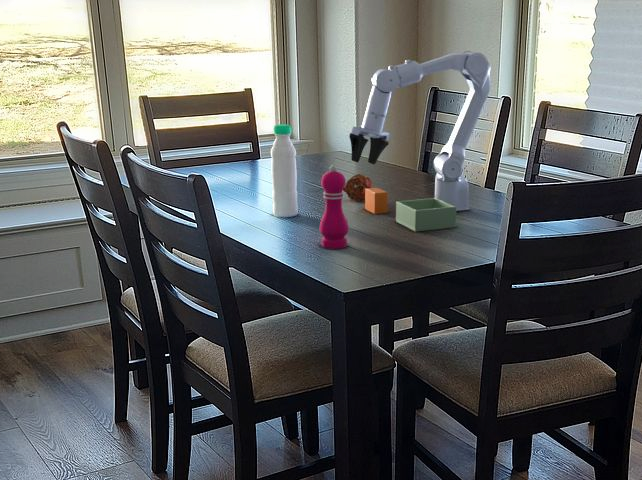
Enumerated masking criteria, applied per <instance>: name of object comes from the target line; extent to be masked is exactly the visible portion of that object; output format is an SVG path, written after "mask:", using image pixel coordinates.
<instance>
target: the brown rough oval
mask: <svg viewBox="0 0 642 480" xmlns="http://www.w3.org/2000/svg"><path fill="white" fill-rule="evenodd" d="M372 184H373V183H372V180H371V178H370V177H367V176H366V175H365V174H361V173H357V174H355V175H352V176H351V177H350V178H349V179H348V180H347V181H346V185H345V188H344V189H343V190H342V191H343V192H344V193H345V194H346V195H347V197H348V198H349V199H350V200H351V201H353V200H355V201H357V202H362V201H364V200H365V189H367V188H373V185H372Z"/></svg>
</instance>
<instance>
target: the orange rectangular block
mask: <svg viewBox="0 0 642 480" xmlns="http://www.w3.org/2000/svg"><path fill="white" fill-rule="evenodd" d="M364 204H365V205H364V210H366V211H368V212H370V213H372V214H374V215H379V214H387V213H388V191H386V190H384V189H381V188H379V187H372V188H367V189H365V198H364Z"/></svg>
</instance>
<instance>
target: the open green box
mask: <svg viewBox="0 0 642 480" xmlns="http://www.w3.org/2000/svg"><path fill="white" fill-rule="evenodd" d="M395 222H396V223H397V224H399V225H401V226H404V227H406V228H407V229H409V230H412V231H413V232H425V231H433V230H434V231H435V230H443V229H452V228H456V227H457V225H456V224H457V211H456V207H455V206H453V205H451V204H449V203H446V202H444V201H442V200H439V199H437V198H435V197H429V198H419V199H407V200H398V201H397V200H396V202H395Z"/></svg>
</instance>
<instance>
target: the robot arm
mask: <svg viewBox="0 0 642 480" xmlns="http://www.w3.org/2000/svg"><path fill="white" fill-rule="evenodd" d="M448 70H454V71H457V72H459V73H460V74H461V75H462V77H464V78H465V80H466V83H467V85H468V88H469V92H468V94H467V96H466V99H465V102H464V104H463V106H462V109H461V111H460V112H459V113H460V114H459V115H458V118H457V121H456V123H455V125H454V127H453V129H452V132H451V135H450V137H449V140H448V141H447V143H446V144H445V145H444V146H443V147H442V149H441V151H440V152H439V154H438V155H436V157H435V158H434V160H433V169H434V170H435V172H436V175H435V176H434V198H437V199H439V200H442V201H444V202H446V203H449V204H451V205H453V206H455V207H456V212H463V211H469V210H470V207H469V193H470V192H469V189H470V187H469V182H468V180H467V179H466V178H465V177H461V176H462V174H463V172H464V161H465V159H466V149H467V146H468V143H469V141H470V139H471V136H472V134H473V132H474V130H475V127H476V124H477V122H478V120H479V117H480V116H481V113H482V110H483V108H484V106H485V104H486V102H487V99H488V97H489V94H490V92H491V76H490V72H491V65H490V62H489V61H488V58H487V57H486V55H485V54H483V53H481V52H474V51H471V50H465V51H462V52H454V53H449V54H447V55H443V56H440V57H437V58H435V59H431V60H428V61H425V62H422V63H419V62H417V61H416V60H411V59H407V60H404V63H402V64H398V65H395V66H394V65H393V64H391V65H389V66H388V69H385V68H380V69H378V70H376V72H374V74H373V75H372V76H371V84H372V87H371V91H370V94H369V97H368V100H367V105H366V109H365V113H364V116H363V120H362V125H358V126H354V125H353V126H352V128H351V132H350V133H349V135H348V137H349V141H350V147H351V162H354V163H359V162H360V159H361V157H362V154H363V152H364V149H365V147H366V145H367V144H368V142H369V141H370V146H369V153H368V160H367V161H368V163H369V164H372V165H376V163H377V161H378V159H379V157H380V156H381V154H382V152H383V151H384V150H385V149H386V148H387V147H388V146H389V143H390V141H388V140H389V137H390V132H387V131H383V129H384V125H385V121H386V117H387V113H388V109H389V105H390V101H391V97H392V94H393V93H392V92H393V91H395V90H396V88H397V89H399V88H404V87H406V86H411V85H413V84H417V83H419V82H421V80H422V78H423V77H424V76H428V75H432V74H436V73H439V72H444V71H448ZM365 137H369V139H367V138H365Z"/></svg>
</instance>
